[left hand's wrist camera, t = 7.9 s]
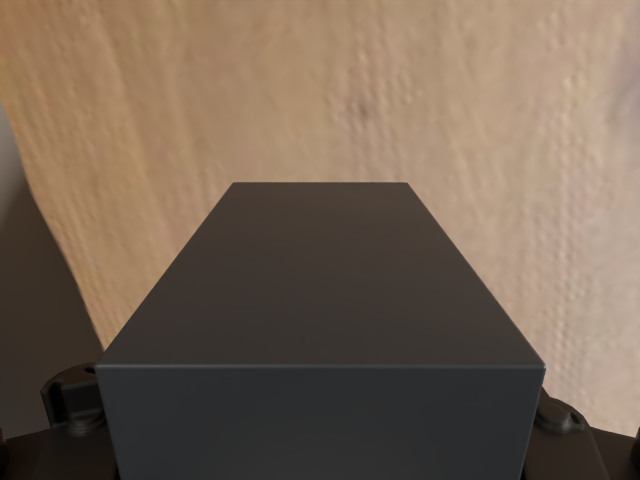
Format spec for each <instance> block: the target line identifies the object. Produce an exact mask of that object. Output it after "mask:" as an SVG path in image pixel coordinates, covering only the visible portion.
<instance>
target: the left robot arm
mask: <svg viewBox="0 0 640 480" xmlns="http://www.w3.org/2000/svg"><path fill="white" fill-rule="evenodd" d="M95 364H96V362H95V363H85V364H81V365H77V366H74V367H71V368H69V369H67V370H65V371H63V372H60V373H58V374H57V375H56V376H54V377H53V378H52V379H50V380H49V381H48V382H47V383H46V384H45V386H44V387H43V388H42V389H41V391H40V393H41V396H42V399H43V403H44V406H45V410H46V413H47V416H48V420H49V423H50V429H46V430H43V431H40V432H36V433H31V434H27V435H23V436H19V437H14V438H10V439H5V437H4V434H3V431H2V429H1V428H0V480H121V479H120V475H119V470H118V466H117V462H116V458H115V453H114V449H113V445H112V441H111V436H110V432H109V428H108V424H107V419H106V415H105V411H104V407H103V402H102V398H101V394H100V390H99V385H98V381H97V377H96V373H95ZM520 480H640V427H639V429H638V432H637V435H636V438H634V437H630V436H625V435H621V434H617V433H612V432H608V431H604V430H600V429H597V428H593V427H590V426H589V424H588V423H587V421H586V420H585V418H584V416H583V415H582V414H580V413H579V412H578V411H577V410H576V409H574V408H573V407H572V406H570V405H568V404H566V403H564V402H562V401H560V400H558V399H555V398H551V397H549V395H548V394H547V392H546V391H545V390H544V388H543V387H542V388H541V392H540V397H539V401H538V405H537V409H536V413H535V418H534V422H533V426H532V430H531V435H530V439H529V443H528V447H527V452H526V456H525V460H524V464H523V468H522V473H521V477H520Z"/></svg>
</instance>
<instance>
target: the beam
mask: <svg viewBox="0 0 640 480" xmlns="http://www.w3.org/2000/svg"><path fill="white" fill-rule="evenodd" d="M545 371H546V366H545V363H544V362H543V361H542V359H541V358H540V357H539V355H538V354H537V353H536V351H535V350H534V349H533V347H532V346H531V345H530V343H529V342H528V341H527V339H526V338H525V337H524V336H523V334H522V333H521V332H520V330H519V329H518V328H517V326H516V325H515V324H514V322H513V321H512V320H511V318H510V317H509V316H508V314H507V313H506V312H505V311H504V309H503V308H502V307H501V305H500V304H499V303H498V301H497V300H496V299H495V297H494V296H493V295H492V293H491V292H490V291H489V289H488V288H487V287H486V285H485V284H484V283H483V282H482V280H481V279H480V278H479V276H478V275H477V274H476V272H475V271H474V270H473V268H472V267H471V266H470V264H469V263H468V262H467V260H466V259H465V258H464V257H463V255H462V254H461V253H460V251H459V250H458V249H457V247H456V246H455V245H454V243H453V242H452V241H451V239H450V238H449V237H448V235H447V234H446V233H445V232H444V230H443V229H442V228H441V226H440V225H439V224H438V222H437V221H436V220H435V218H434V217H433V216H432V214H431V213H430V212H429V210H428V209H427V208H426V207H425V205H424V204H423V203H422V201H421V200H420V199H419V197H418V196H417V195H416V193H415V192H414V191H413V189H412V188H411V187H410V185H409V184H408V183H380V182H234V183H232V185H231V186H230V187H229V189H228V190H227V191H226V193H225V194H224V195H223V196H222V198H221V199H220V200H219V202H218V203H217V204H216V206H215V207H214V208H213V210H212V211H211V212H210V214H209V215H208V216H207V218H206V219H205V220H204V221H203V223H202V224H201V225H200V227H199V228H198V229H197V231H196V232H195V233H194V235H193V236H192V237H191V239H190V240H189V241H188V243H187V244H186V245H185V247H184V248H183V249H182V250H181V252H180V253H179V254H178V256H177V257H176V258H175V260H174V261H173V262H172V264H171V265H170V266H169V268H168V269H167V270H166V272H165V273H164V274H163V276H162V277H161V278H160V279H159V281H158V282H157V283H156V285H155V286H154V287H153V289H152V290H151V291H150V293H149V294H148V295H147V297H146V298H145V299H144V301H143V302H142V303H141V304H140V306H139V307H138V308H137V310H136V311H135V312H134V314H133V315H132V316H131V318H130V319H129V320H128V322H127V323H126V324H125V326H124V327H123V328H122V330H121V331H120V332H119V333H118V335H117V336H116V337H115V339H114V340H113V341H112V343H111V344H110V345H109V347H108V348H107V349H106V351H105V352H104V353H103V355H102V356H101V357H100V359H99V360H98V361H97V362H96V364H95V373H96V377H97V381H98V385H99V390H100V394H101V398H102V402H103V407H104V411H105V415H106V419H107V424H108V428H109V432H110V436H111V441H112V445H113V449H114V453H115V458H116V462H117V466H118V470H119V475H120V479H121V480H520V477H521V473H522V468H523V464H524V460H525V456H526V452H527V447H528V443H529V439H530V435H531V430H532V426H533V422H534V418H535V413H536V409H537V405H538V401H539V397H540V392H541V388H542V384H543V380H544V375H545Z"/></svg>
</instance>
